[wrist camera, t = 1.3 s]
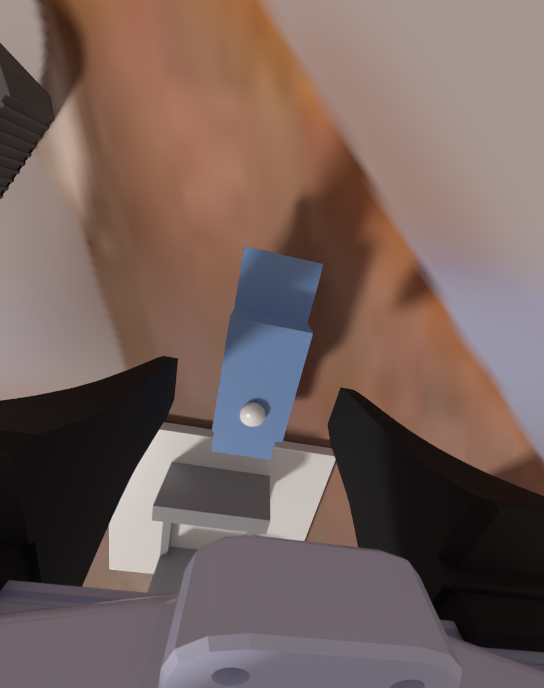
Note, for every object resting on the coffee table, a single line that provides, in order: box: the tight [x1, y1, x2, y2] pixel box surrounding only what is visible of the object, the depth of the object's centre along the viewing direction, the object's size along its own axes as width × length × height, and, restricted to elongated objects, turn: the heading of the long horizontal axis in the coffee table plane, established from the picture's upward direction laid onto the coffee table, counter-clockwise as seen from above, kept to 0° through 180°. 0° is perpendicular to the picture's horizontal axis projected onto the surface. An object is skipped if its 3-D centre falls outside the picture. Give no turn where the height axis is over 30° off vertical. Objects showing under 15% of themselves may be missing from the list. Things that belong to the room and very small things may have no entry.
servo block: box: [211, 246, 323, 460], centre depth 14 cm, size 4×12×5 cm, turn 168°
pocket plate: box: [109, 422, 336, 595], centre depth 20 cm, size 16×16×4 cm
